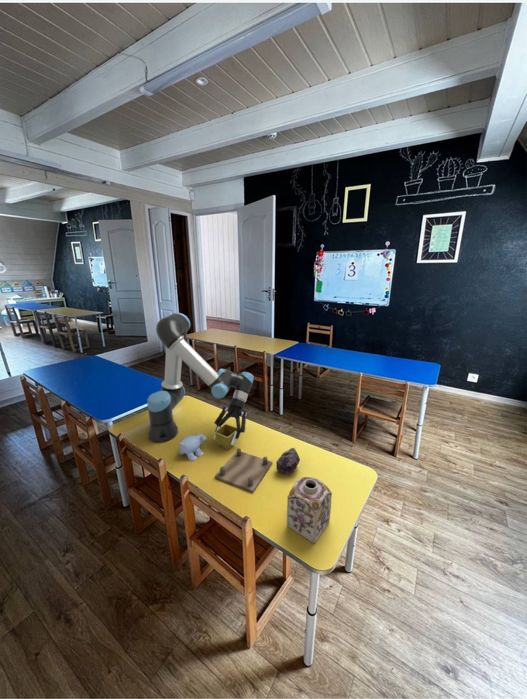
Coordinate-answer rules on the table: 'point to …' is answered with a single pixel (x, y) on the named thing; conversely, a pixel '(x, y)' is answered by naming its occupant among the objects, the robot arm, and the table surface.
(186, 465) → the table surface
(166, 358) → the robot arm
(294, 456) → the rock
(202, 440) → the hippopotamus toy
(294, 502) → the decorative jar
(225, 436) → the flower pot
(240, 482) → the standoff plate
